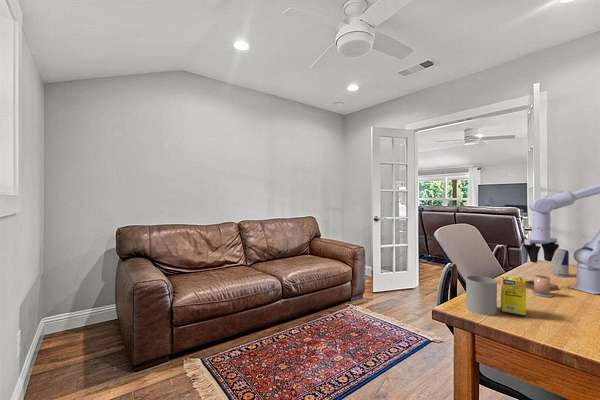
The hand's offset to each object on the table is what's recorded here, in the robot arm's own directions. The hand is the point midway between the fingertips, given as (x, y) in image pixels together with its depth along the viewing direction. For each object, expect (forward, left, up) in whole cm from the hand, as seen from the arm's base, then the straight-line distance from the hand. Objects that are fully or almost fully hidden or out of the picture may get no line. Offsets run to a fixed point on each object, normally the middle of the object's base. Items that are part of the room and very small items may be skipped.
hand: (540, 261), depth 115 cm
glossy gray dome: (+10, +8, -10) cm, 16 cm away
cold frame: (+3, +1, -10) cm, 10 cm away
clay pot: (+10, +8, -9) cm, 16 cm away
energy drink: (-24, -9, -10) cm, 28 cm away
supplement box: (+36, +18, -10) cm, 41 cm away
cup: (+44, +14, -10) cm, 47 cm away
